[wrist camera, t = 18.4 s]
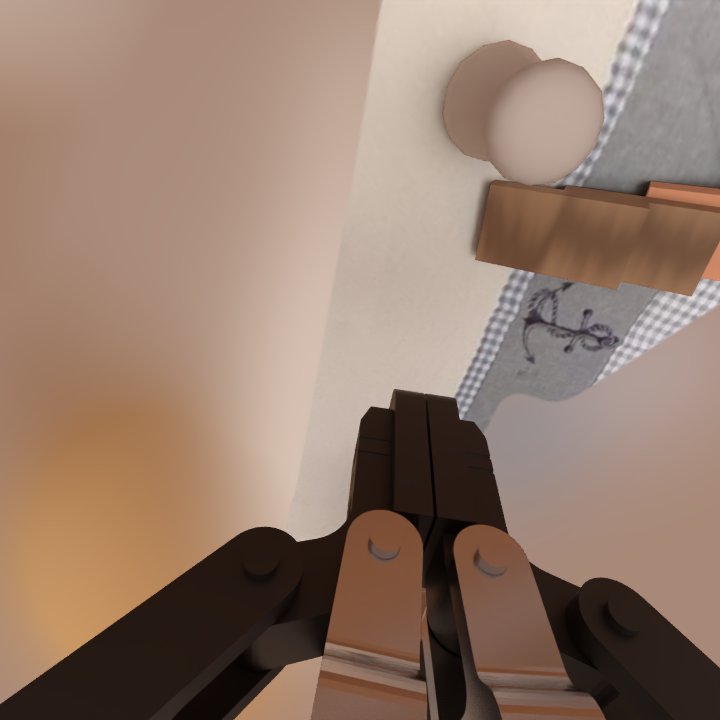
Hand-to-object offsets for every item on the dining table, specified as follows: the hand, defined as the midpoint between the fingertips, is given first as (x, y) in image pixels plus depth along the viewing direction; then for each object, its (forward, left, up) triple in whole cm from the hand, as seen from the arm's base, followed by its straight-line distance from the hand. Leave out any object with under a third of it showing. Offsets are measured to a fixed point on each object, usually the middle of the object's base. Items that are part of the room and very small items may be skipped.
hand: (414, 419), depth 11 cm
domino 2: (0, -10, -22) cm, 25 cm away
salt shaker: (+6, -4, -23) cm, 24 cm away
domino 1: (-1, -6, -22) cm, 23 cm away
